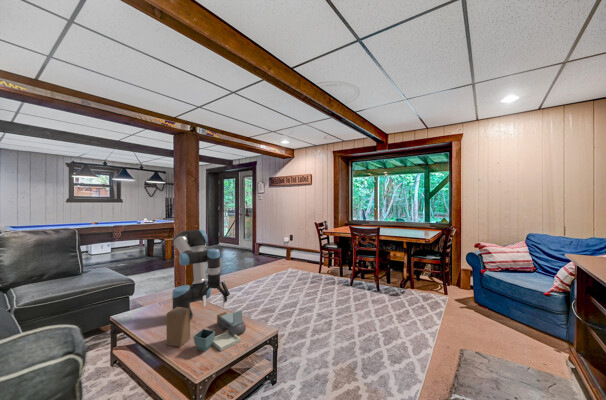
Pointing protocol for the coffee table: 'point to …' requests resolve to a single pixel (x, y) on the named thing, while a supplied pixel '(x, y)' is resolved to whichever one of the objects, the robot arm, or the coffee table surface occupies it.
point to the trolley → (233, 323)
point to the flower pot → (204, 339)
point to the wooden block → (178, 326)
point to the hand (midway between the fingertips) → (214, 306)
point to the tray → (225, 341)
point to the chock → (220, 317)
